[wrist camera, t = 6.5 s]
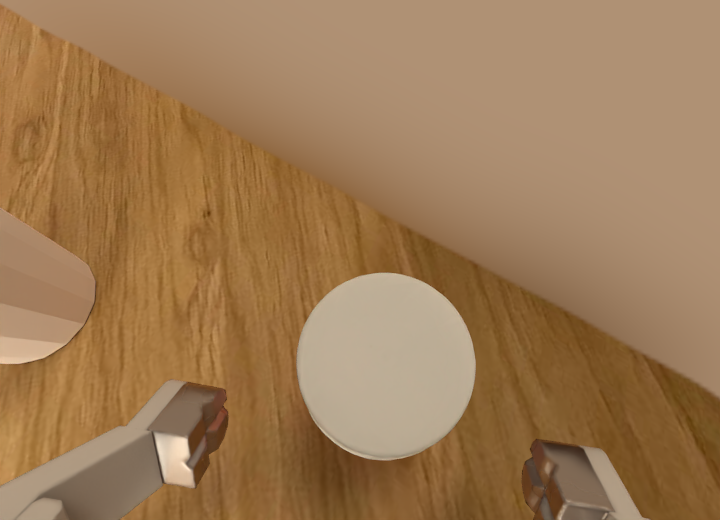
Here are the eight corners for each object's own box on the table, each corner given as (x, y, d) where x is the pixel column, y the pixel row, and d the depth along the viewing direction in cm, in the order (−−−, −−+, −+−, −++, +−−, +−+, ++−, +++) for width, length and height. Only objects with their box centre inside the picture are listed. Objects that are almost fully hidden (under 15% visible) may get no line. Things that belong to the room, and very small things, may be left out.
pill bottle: (306, 361, 16) (242, 322, 8) (394, 305, 17) (412, 222, 9) (362, 464, 14) (347, 536, 7) (457, 398, 15) (542, 393, 7)
